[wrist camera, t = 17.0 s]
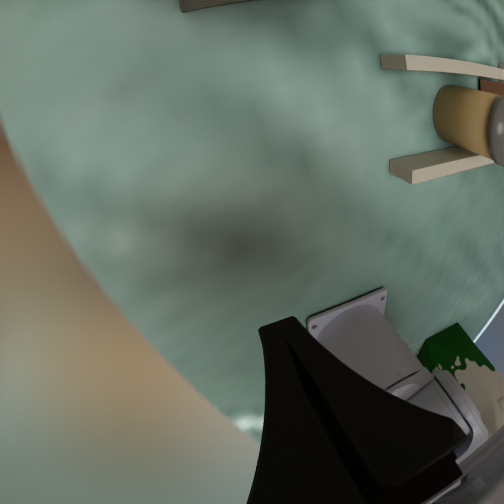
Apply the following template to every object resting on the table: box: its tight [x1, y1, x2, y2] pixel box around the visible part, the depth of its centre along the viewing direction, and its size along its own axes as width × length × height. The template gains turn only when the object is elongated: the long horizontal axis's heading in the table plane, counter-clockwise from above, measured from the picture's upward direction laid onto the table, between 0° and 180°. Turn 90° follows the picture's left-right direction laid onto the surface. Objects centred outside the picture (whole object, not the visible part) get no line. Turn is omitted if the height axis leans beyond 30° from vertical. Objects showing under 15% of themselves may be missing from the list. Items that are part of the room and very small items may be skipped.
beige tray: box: [380, 54, 504, 185], centre depth 16 cm, size 10×18×6 cm, turn 102°
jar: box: [433, 85, 504, 167], centre depth 16 cm, size 5×5×6 cm
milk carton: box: [417, 323, 504, 438], centre depth 28 cm, size 9×9×20 cm
